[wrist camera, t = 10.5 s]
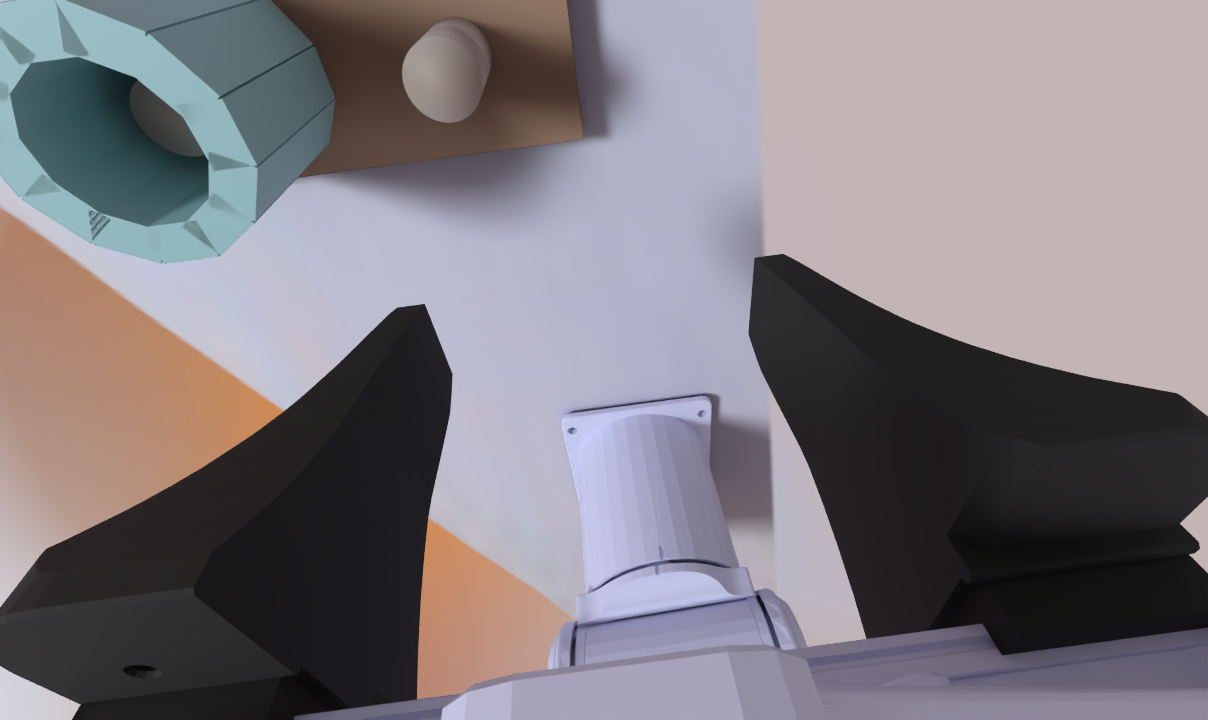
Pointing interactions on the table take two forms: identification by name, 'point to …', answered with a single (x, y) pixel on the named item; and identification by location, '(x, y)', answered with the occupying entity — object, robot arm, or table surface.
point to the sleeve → (187, 84)
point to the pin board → (391, 111)
